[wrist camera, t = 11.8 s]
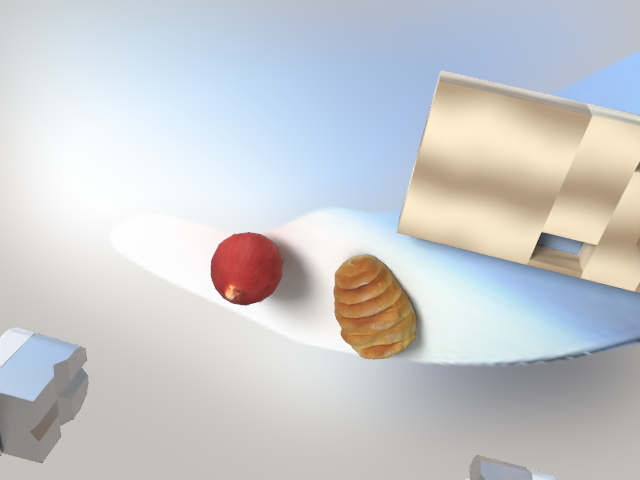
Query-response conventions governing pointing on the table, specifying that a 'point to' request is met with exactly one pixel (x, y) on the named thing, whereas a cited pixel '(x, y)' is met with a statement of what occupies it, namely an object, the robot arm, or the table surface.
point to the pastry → (372, 308)
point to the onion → (246, 268)
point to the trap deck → (528, 179)
